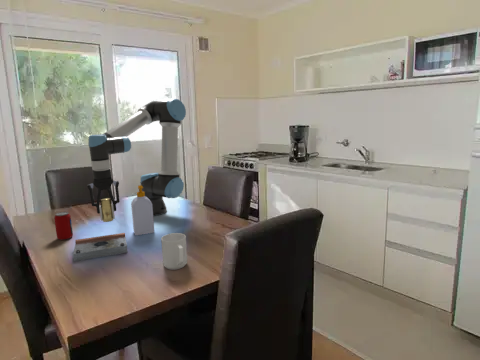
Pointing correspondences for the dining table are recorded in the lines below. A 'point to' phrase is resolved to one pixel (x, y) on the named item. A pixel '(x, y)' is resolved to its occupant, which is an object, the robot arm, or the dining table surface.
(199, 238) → the dining table surface
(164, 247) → the mug
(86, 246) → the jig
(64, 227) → the beverage can
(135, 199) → the soap bottle
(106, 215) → the brass cylinder
